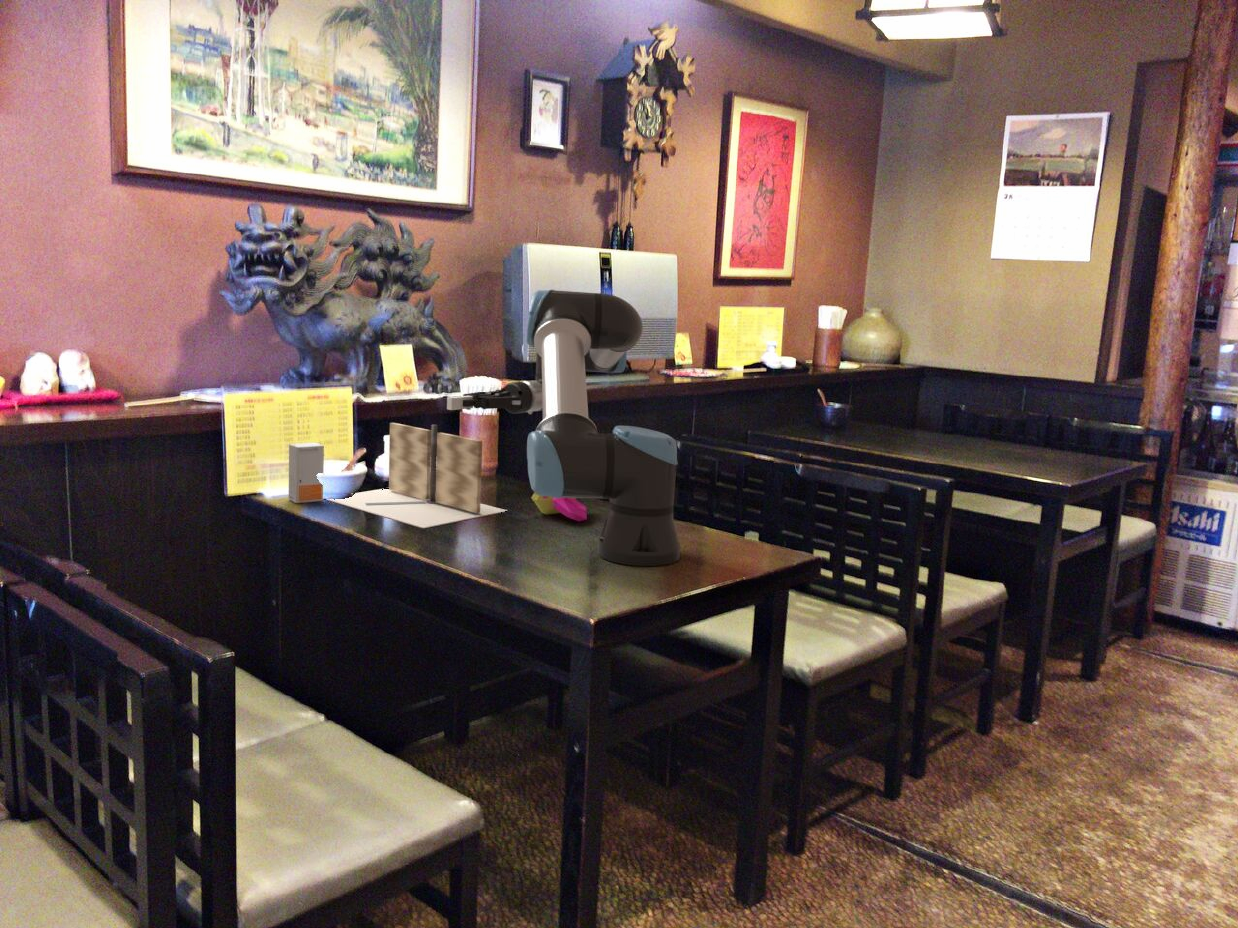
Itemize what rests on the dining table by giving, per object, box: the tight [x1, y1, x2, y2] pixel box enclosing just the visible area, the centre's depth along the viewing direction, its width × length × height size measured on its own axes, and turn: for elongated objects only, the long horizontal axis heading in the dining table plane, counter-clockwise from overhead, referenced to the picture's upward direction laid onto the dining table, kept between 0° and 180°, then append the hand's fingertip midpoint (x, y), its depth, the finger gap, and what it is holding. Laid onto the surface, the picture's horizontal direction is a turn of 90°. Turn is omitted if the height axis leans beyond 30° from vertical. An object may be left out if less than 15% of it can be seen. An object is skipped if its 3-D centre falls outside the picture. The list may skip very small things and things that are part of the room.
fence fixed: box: [427, 424, 483, 513], centre depth 209 cm, size 15×3×17 cm, turn 52°
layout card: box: [325, 488, 508, 529], centre depth 212 cm, size 32×23×1 cm
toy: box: [530, 492, 588, 523], centre depth 210 cm, size 10×18×10 cm, turn 36°
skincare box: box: [288, 442, 325, 504], centre depth 210 cm, size 6×4×12 cm
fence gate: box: [388, 422, 432, 500], centre depth 218 cm, size 12×1×15 cm, turn 52°
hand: (449, 403), depth 223 cm, fingers closed
